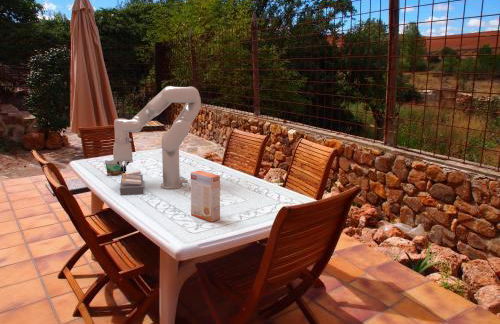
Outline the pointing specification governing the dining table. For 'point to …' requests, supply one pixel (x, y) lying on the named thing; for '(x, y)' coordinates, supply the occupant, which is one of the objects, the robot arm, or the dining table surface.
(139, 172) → the rocker far
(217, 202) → the cracker box
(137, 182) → the rocker near
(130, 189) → the grey switch panel
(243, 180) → the dining table surface
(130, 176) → the rocker middle
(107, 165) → the food container
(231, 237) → the dining table surface
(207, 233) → the dining table surface
